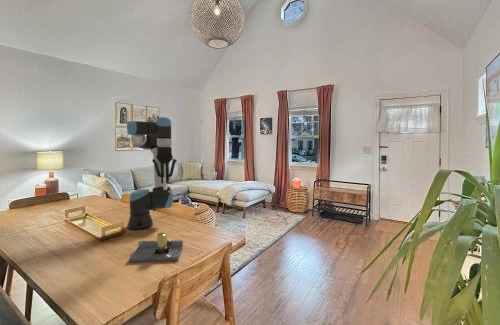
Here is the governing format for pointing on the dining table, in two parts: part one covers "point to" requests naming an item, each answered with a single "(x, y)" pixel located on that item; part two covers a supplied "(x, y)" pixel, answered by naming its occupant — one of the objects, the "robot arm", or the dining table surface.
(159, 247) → the cylinder
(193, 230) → the dining table surface
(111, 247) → the dining table surface
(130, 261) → the plate
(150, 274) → the dining table surface
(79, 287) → the dining table surface
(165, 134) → the robot arm
